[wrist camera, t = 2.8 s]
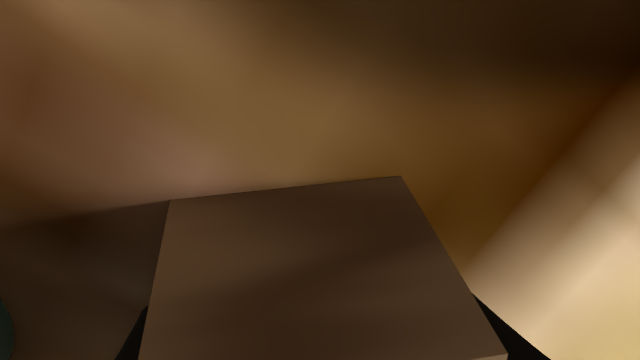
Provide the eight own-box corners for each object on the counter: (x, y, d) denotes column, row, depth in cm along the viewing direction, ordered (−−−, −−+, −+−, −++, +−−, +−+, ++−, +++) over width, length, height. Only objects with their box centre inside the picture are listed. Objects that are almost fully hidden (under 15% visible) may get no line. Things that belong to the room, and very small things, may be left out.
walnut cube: (400, 174, 11) (508, 353, 7) (390, 333, 13) (464, 537, 9) (170, 199, 10) (126, 411, 6) (205, 360, 13) (191, 590, 9)
